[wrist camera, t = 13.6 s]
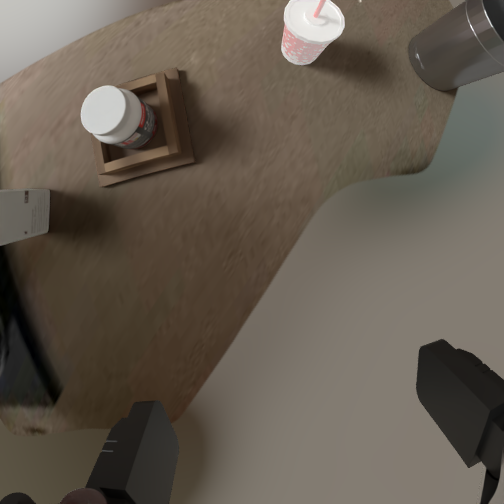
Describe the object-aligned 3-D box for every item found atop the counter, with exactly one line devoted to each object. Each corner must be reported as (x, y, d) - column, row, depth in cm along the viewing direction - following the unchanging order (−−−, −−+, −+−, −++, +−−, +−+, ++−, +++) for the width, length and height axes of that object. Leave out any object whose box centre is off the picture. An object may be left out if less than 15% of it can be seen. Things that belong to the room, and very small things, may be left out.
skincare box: (49, 232, 37) (-6, 251, 25) (26, 230, 37) (-30, 247, 25) (51, 187, 36) (-7, 192, 24) (27, 186, 35) (-32, 192, 24)
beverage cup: (292, 78, 34) (318, 28, 20) (265, 40, 33) (277, -22, 19) (333, 59, 34) (374, 9, 20) (306, 23, 32) (334, -38, 19)
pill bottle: (167, 133, 34) (142, 117, 24) (126, 159, 35) (89, 153, 25) (146, 94, 33) (116, 68, 23) (106, 120, 33) (67, 104, 24)
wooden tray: (178, 70, 33) (172, 60, 30) (195, 162, 36) (191, 160, 33) (89, 98, 33) (77, 92, 30) (103, 187, 36) (91, 187, 33)
